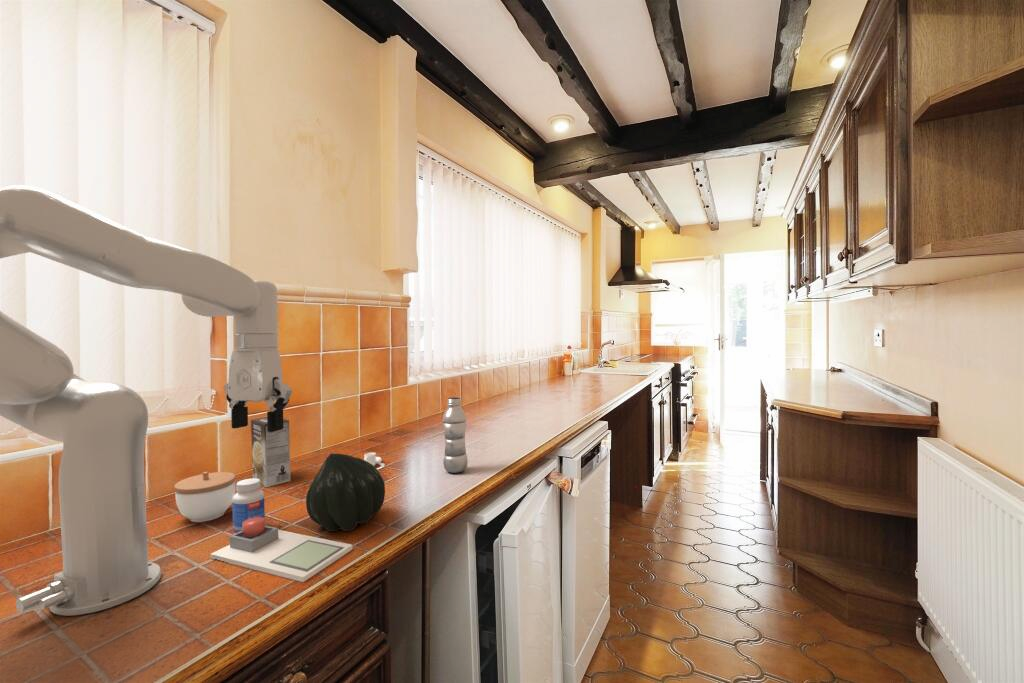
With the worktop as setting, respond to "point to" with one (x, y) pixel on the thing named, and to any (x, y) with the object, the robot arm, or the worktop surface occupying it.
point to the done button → (253, 526)
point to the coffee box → (270, 453)
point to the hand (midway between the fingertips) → (257, 428)
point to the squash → (345, 493)
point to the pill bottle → (247, 502)
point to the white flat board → (282, 553)
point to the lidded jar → (205, 495)
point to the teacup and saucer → (373, 459)
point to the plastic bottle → (454, 436)
